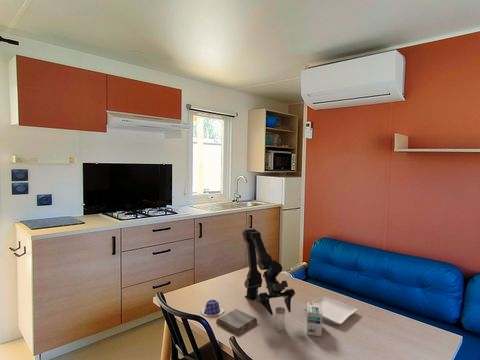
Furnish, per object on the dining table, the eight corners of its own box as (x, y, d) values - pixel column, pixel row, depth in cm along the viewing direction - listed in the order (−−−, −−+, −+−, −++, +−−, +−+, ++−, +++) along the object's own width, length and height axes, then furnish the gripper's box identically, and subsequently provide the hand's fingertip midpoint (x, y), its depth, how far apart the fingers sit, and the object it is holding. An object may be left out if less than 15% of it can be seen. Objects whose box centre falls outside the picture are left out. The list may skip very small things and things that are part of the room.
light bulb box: (321, 337, 139) (322, 314, 138) (306, 334, 141) (307, 312, 140) (320, 324, 150) (321, 303, 149) (306, 322, 151) (307, 301, 150)
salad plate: (358, 314, 161) (358, 307, 161) (340, 330, 146) (340, 323, 146) (321, 300, 176) (322, 295, 176) (301, 314, 160) (302, 307, 160)
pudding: (215, 304, 169) (215, 294, 168) (228, 312, 160) (228, 302, 159) (196, 310, 161) (196, 300, 161) (209, 320, 152) (209, 309, 152)
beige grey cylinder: (278, 324, 149) (278, 306, 148) (286, 327, 146) (286, 309, 145) (272, 328, 146) (273, 309, 145) (280, 331, 143) (281, 312, 142)
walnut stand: (235, 312, 159) (235, 308, 159) (256, 322, 150) (257, 317, 150) (216, 323, 148) (216, 318, 148) (237, 334, 139) (237, 329, 139)
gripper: (259, 276, 145) (268, 310, 135) (294, 272, 151) (305, 304, 142) (252, 286, 153) (261, 319, 143) (285, 282, 159) (296, 313, 150)
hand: (281, 313), depth 144 cm, fingers open, 9 cm apart
